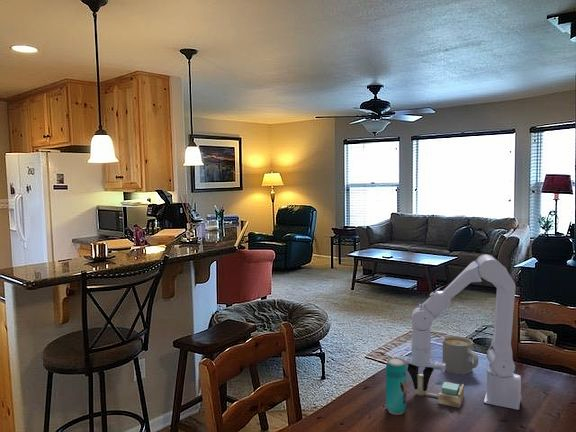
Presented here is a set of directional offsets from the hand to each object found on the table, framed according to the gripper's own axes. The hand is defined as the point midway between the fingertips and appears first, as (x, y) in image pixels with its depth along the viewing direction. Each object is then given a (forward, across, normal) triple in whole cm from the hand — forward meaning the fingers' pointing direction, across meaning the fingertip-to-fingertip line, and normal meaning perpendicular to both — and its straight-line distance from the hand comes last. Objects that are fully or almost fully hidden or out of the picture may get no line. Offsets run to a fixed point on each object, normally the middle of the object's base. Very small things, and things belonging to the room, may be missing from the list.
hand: (420, 388), depth 148 cm
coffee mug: (+2, -8, -24) cm, 25 cm away
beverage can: (+2, +4, +14) cm, 15 cm away
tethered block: (+2, -5, 0) cm, 5 cm away
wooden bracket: (+2, -9, 0) cm, 9 cm away
